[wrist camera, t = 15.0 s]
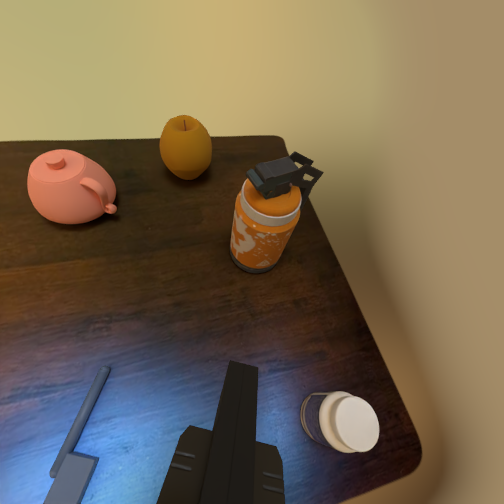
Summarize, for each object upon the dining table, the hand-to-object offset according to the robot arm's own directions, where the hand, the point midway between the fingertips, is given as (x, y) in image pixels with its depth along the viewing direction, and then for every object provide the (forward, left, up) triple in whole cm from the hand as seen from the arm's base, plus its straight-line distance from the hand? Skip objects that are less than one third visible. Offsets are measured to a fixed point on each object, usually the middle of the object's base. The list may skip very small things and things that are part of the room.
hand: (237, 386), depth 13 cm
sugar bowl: (+31, -23, -24) cm, 46 cm away
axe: (+14, +7, -24) cm, 28 cm away
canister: (-1, -23, -24) cm, 34 cm away
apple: (+17, -37, -24) cm, 48 cm away
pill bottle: (-14, 0, -24) cm, 28 cm away
